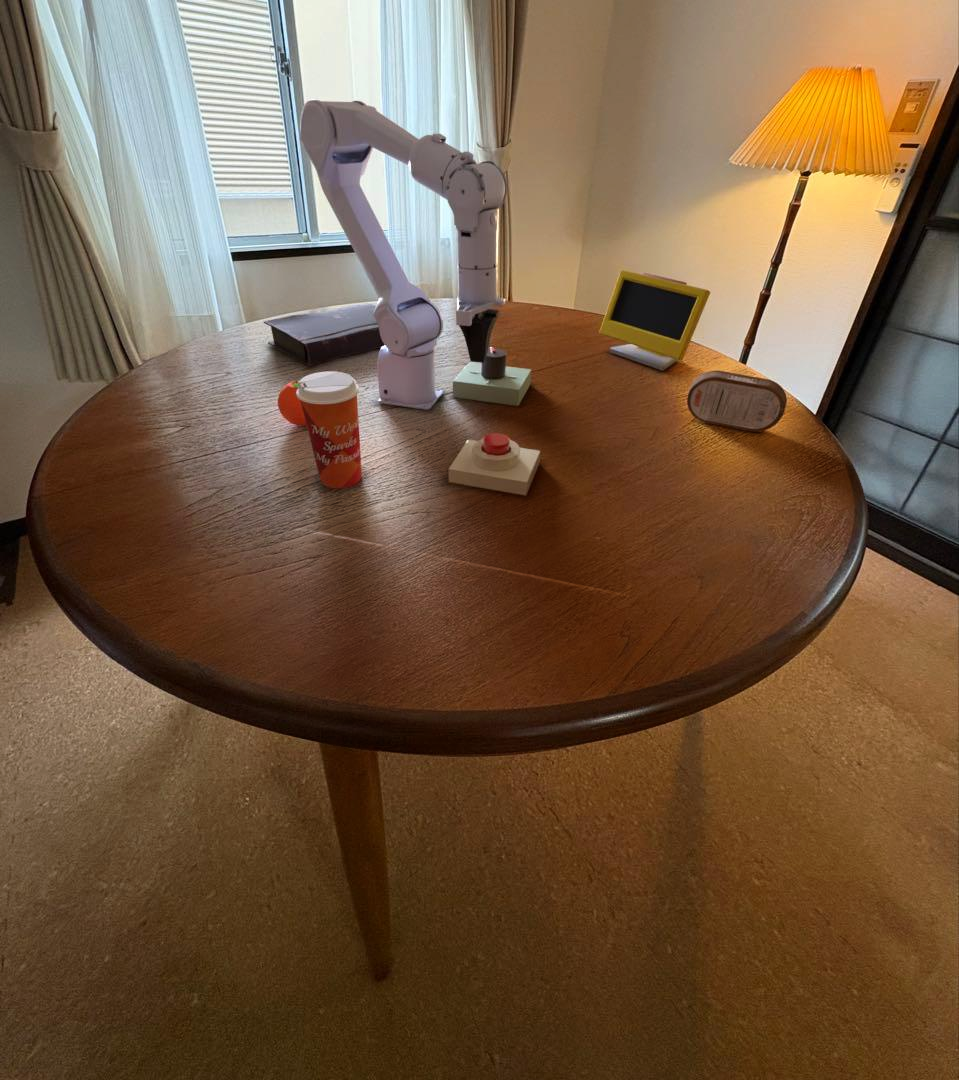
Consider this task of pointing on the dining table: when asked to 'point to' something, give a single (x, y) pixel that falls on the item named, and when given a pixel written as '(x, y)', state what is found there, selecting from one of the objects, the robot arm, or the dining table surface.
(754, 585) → the dining table surface
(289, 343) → the diary
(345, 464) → the paper cup
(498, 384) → the dial panel
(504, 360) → the dial knob
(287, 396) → the clementine
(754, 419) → the tin
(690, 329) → the toy computer monitor
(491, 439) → the red button
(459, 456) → the button block
